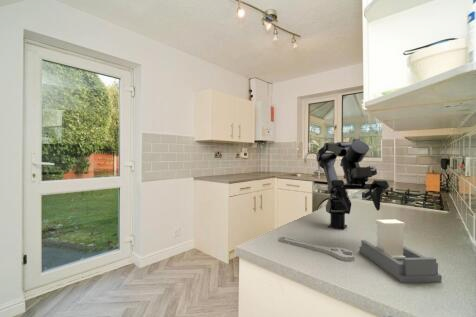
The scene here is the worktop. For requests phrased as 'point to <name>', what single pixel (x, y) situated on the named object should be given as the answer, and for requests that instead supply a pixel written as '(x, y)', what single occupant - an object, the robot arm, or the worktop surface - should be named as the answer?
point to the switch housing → (404, 264)
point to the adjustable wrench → (322, 249)
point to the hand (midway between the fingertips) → (363, 209)
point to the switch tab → (390, 237)
